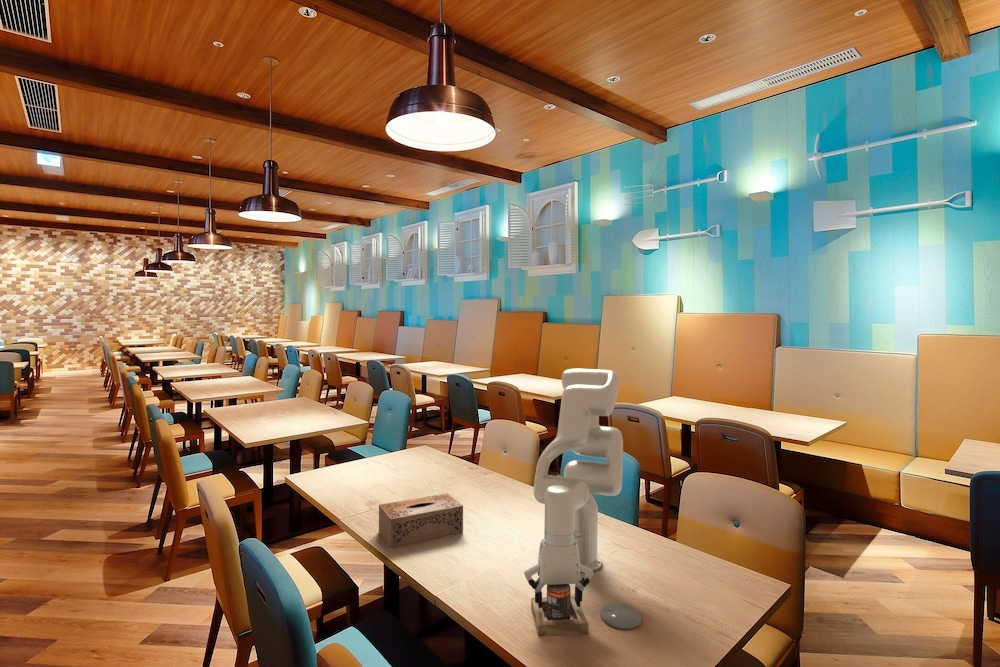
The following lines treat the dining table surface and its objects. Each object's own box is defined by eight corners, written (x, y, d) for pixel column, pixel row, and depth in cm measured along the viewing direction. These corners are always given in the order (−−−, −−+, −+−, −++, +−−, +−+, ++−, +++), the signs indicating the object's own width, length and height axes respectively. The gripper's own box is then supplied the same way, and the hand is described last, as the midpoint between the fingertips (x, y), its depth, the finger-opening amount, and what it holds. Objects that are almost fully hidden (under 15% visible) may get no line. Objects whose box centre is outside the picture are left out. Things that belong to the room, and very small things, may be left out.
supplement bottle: (568, 613, 130) (568, 569, 129) (572, 627, 124) (573, 581, 123) (545, 613, 130) (545, 569, 129) (548, 627, 124) (548, 581, 123)
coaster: (596, 606, 133) (596, 603, 132) (633, 605, 133) (633, 602, 133) (607, 630, 123) (607, 627, 123) (647, 628, 123) (647, 625, 123)
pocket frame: (531, 607, 132) (531, 597, 132) (576, 605, 133) (576, 596, 133) (538, 636, 120) (538, 625, 120) (588, 633, 121) (588, 623, 121)
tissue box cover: (390, 549, 165) (390, 519, 164) (378, 532, 177) (378, 504, 177) (462, 534, 177) (463, 505, 177) (447, 519, 190) (447, 493, 189)
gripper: (589, 529, 130) (588, 595, 131) (522, 531, 129) (522, 597, 129) (597, 542, 123) (596, 612, 123) (526, 544, 121) (526, 614, 122)
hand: (558, 604), depth 126 cm, fingers open, 9 cm apart
